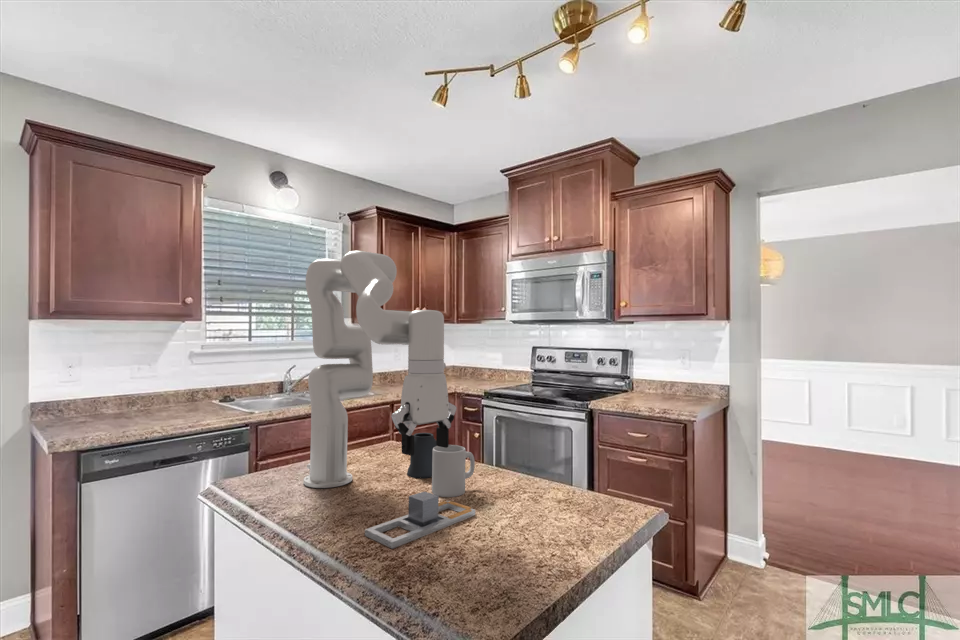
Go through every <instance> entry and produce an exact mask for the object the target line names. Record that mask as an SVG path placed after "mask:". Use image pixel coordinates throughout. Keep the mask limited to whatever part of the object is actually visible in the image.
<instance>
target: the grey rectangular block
mask: <svg viewBox="0 0 960 640" xmlns="http://www.w3.org/2000/svg"><path fill="white" fill-rule="evenodd" d="M439 498H440V496H437V495H434V494H433V493H432V492H427V491H426V490H425V491H420V492H417V493H415V494H412V495H409V496H408V513H407V515H408V522H410V523H413V524H415V525H418V526H420V527H424V526H427V525H429V524H432V523H435V522H437V521H438V514H439V512H438V503H440V502H439Z"/></svg>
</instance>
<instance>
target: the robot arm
mask: <svg viewBox="0 0 960 640" xmlns="http://www.w3.org/2000/svg"><path fill="white" fill-rule="evenodd" d="M397 270H398V269H397V266H396V263H395V261H394V260H393V258H391V257H390V256H389V255H386V254H384V253H383V254H382V253H377V252H371V251H364V250H351V251H348V252H347V253H345V254H344V255H343V256H342V257H341V259H333V258H321V259H320V258H319V259H316V260H313V261H312V262H311V263H310V264H309V265H308V268H307V271H306V274H305V290H306V294H307V298H308V300H309V304H310V309H311V328H312V329H311V331H312V348H313V352H314V355H315V356H316V357H317V358H320V359H324V360H327V359H328V360H338V359H339V360H348V361H349V363H326V364H325V363H324V364H320V365H317V366H315V367H314V368H313V369H312V370H310V372H309V373H308V379H307V382H308V383H307V384H308V391H309V398H310V399H309V400H310V450H309V451H310V453H309V454H310V457H309V463H307V465H306V469H307V470H309V475H306V476H305V477H303V481H302V483H303V485H304V486H305V487H308V488H314V489H315V488H316V489H330V488H336V487H342V486H344V485H348V484H349V483H351V482H353V481H352V480H353V475H352V473H350V472H348V471H347V470H348V469H347V468H348V465H347V464H348V434H349V432H348V431H349V429H348V427H349V417H348V412H347V409H346V408H345V406H344V405H343V404H342V402H341V399H351V398H358V397H365V396H367V395H368V394H369V393H370V392H371V391H372V388H373V383H374V375H373V373H374V372H373V371H374V370H373V352H372V342H373V343H375V344H378V345H391V346H392V345H393V346H394V345H402V346H408V352H407V353H408V355H407V356H408V357H407V358H408V360H407V362H408V364H407V367H408V369H407V372H408V373H407V375H405V376H404V378H403V379H404V380H403V383H402V390H401V397H400V400H401V401H400V407H399V408H398V409H397V410H395V411H394V412H393V413H392V414H391V419H392V422H393V424H394V428H395V429H396V430H397V431H398V434H400V435H401V454H402V455H406V456H412V455H414V434H413V433H414V432H415V429H416V427H417V426H420V425H426V424H432V423H436V424H437V426H436V432H435V433H436V436H435V437H436V438H435V440H436V445H437V446H439V447H444V448H447V447H448V446H449V445H450V444H449V443H450V442H449V436H450V435H449V434H450V433H449V432H450V431H449V429H450V428H451V427H452V423H453V421H454V419H455V414H456V412H457V406H456V405H454V404H453V403H451V402H449V391H448V384H447V377H446V374H445V369H446V362H445V357H444V356H445V316H444V314H443V313H442V311H439V310H434V309H433V310H432V309H419V310H417V309H416V310H413V311H408V310H407V311H406V310H393V309H391V310H390V309H383V308H382V306H384V305H385V304H386V303H387V302H389V301H390V299H391V297H392V296H393V293H394V284H393V283H394V282H395V281H396V277H397V272H398V271H397ZM334 291H335V292H343V293H353V294H356V295H357V296H358V298H357V301H356V307H355V308H356V309H355V311H356V312H355V313H356V314H355V315H356V319H357V322H358V324H359V325H351V324H350V325H348V324H347V325H346V323H345V311H344V307H343V305H342V303H341V302H340V300H339V298H338V296H337V295H335V294H334Z"/></svg>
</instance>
